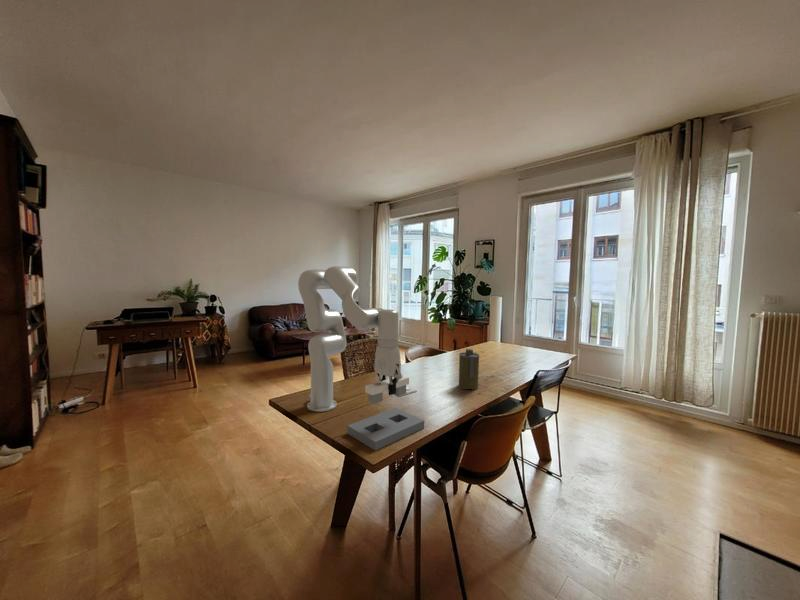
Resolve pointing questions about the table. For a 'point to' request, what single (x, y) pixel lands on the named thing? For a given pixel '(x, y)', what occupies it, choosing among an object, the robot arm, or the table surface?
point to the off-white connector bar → (385, 389)
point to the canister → (468, 370)
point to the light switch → (409, 390)
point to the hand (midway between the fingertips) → (387, 392)
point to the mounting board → (385, 428)
